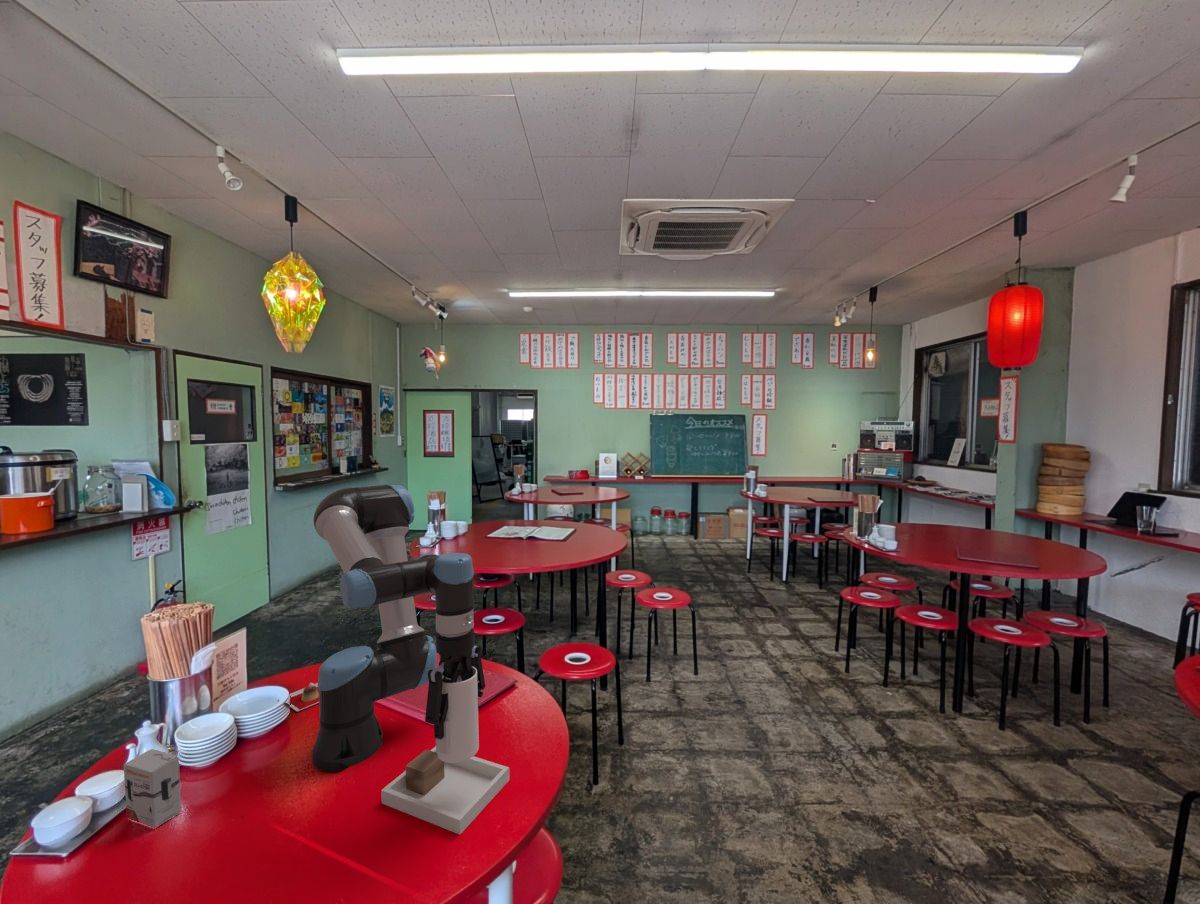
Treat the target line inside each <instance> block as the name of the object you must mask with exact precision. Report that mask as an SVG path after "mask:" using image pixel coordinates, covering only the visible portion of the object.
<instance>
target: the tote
mask: <svg viewBox="0 0 1200 904" xmlns="http://www.w3.org/2000/svg"><path fill="white" fill-rule="evenodd" d="M429 750H430V749H429ZM430 751H433V752H436V753H437V751H436V745H435V746H434V747H433V748H431V750H430ZM509 781H510V767H509V766H506V765H502V764H500V763H495V762H493V761H489V760H486V759H484V758H480V757H477V756H475V755H474V756H473V757H471V758H469V759H467V760H465V761H462V762H458V763H447V762H444V778H443V779H442V780H441V781H440V782H439V783H438V784H437V785H436V786H435V787H434V788H432V789H431V790H430V791H429V792H428V793H427V794H426V795H425V796H423V795H421V794H418V793H415V792H413V791H410V790H407V789H406V770H404V771H403V772H402V773H401V774H399V776H396V778H394V780H392V781H391V782H390V783H388V784H387V785H386V786H384V788H382V789H381V804H383V805H384V806H387V807H389V808H392V809H395V810H398V811H400V812H402V813H405V814H407V815H410V816H412V817H414V818H417V819H420V820H422V821H425V822H428V823H429V824H432V825H435V826H437V827H440V828H443V829H445V830H447V831H450V832H452V833H455V834H456V835H457V834H458V835H461V834H462V833H464V831H465V830H466V829H467V828H468V827H469V825H470V824H472V822H473V821H474V820H475V819H476V818H477V816H478V815H479V814H481V813H482V811H483V810H484V809H485V808H486V806H488V805H489V803H490V802H491V801H492V800H493V799H494V798H495V796H496V795H498V793H499V792H500V791H502V789H503V788H504V787H505V786H506V785H507V784H508V782H509Z"/></svg>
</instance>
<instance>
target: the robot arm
mask: <svg viewBox="0 0 1200 904" xmlns="http://www.w3.org/2000/svg"><path fill="white" fill-rule="evenodd" d="M414 519H415V506H414V502H413V499H412V496H411V494H410V491H408V490H407V488H406V487H405V486H404V485H400V484H382V485H373V486H359V487H358V486H357V487H344V488H341V489H338V490H335V491H333V492H331V493H330V494H328V495H326V496H325V497H324V498H323V499H322V500H321V502H320V503H319V504H318V506H317V507H316V509H315V510H314V514H313V526H314V529H315V531H316V533H317V535H318V536H319V537H321V539H323V540H325V541H326V542H327V544H328V546H329V547H330V549H331V551H332V553H333V554H334V556H335V558H336V560H337V562H338V564H339V566H340V568H341V570H342V571H343V574H342V575H341V577H340V582H339V584H340V585H339V588H340V589H339V590H340V597H341V601H342V604H343V606H344V607H345V608H347V609H349V610H352V609H361V608H370V607H372V606H375V605H378V609H379V617H380V624H381V632H382V633H381V635H380V636H379V638H378V640H377V643H376V644H377V649H375V650H373V649H372V648H371V647H370V646H368V645H359V646H358V645H356V646H351V647H347V648H345V649H342V650H340V651H338V652H336V653H334V654H332V655H331V656H329V657H328V658H327V659H325V660H324V661H323V662H322V663H321V665H320V666H319V669H318V678H317V679H318V680H317V681H318V682H317V683H318V687H317V690H318V694H319V697H318V702H319V703H318V704H319V707H318V708H319V728H318V731H317V735H316V738H315V739H316V740H315V743H314V745H313V747H312V752H311V761H312V766H313V767H314V768H315V769H317V770H319V771H322V772H328V773H329V772H341V771H346V769H348V768H349V767H351V766H355V765H357V764H360V763H362V762H364V761H365V760H368V759H369V758H370V757H372V756H374V754H376V753H377V752H378V751H379V750H380V749H381V748H382V745H383V743H384V737H383V736H384V735H383V730H382V727H381V725H380V723H379V720H378V718H377V716H376V714H375V702H378V701H380V700H383V699H386V698H390V697H392V696H395V695H399V694H401V693H404V692H407V691H411V690H416V689H417V688H418V687H421V686H424V685H427V684H428V689H427V699H426V707H425V708H426V709H425V717H424V718H425V719H424V721H425V723H427V724H430V725H433V736H434V739H435V746H436V751H437V752H440V753H443V754H446V755H447V754H448V753H449V752H450V750H449V720H447V719H446V715H447V711H448V693H446V694H442V687H443V682H444V683H456V682H457V678H458V677H459V676H461V678H462V681H465V680H468V679H470V678H471V677H473V672H472V671H473V668H472V666H473V667H475V668H476V670H477V686H478V698H482V697H483V696H484V692H483V691H482V690H484V689H485V688H486V681H485V675H484V669H483V663H482V646H478V645H476V644H475V643H476V642H475V630H474V627H475V623H474V622H475V621H474V618H475V617H474V616H475V615H474V575H475V571H474V567H473V558H472V556H471V555H470V554H468V553H465V552H463V553H461V552H449V553H444V554H441V555H439V554H438V555H437V554H434V553H424V554H421V555H419V556H418V557H416V558H415V559H413V560H408V554H407V553H408V552H407V545H406V539H405V536H406V534H407V533H408V532H409V530H410V527H409V526H410V525H412V524H413V522H414ZM425 594H432V595H434V598H435V600H434V601H435V632H437V633H436V635H435V639H436V641H435V640H434V638H433V637H431V636H430V635H426V633H425V632H426V631H425V629H424V628H422V627H421V626H419V624H418V620H417V614H416V612H417V611H416V608H415V606H416V605H415V600H414V597H416V596H422V595H425ZM435 643H436V644H435ZM437 653H438V655H439V657H440V658H439V661H438V666H437V660H438V658H437V656H438V655H437ZM446 677H447V678H450V679H451V680H448V679H446ZM478 709H479V700H478Z"/></svg>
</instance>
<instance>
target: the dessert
mask: <svg viewBox="0 0 1200 904" xmlns="http://www.w3.org/2000/svg"><path fill="white" fill-rule="evenodd" d="M289 694H290V696H291V698H293V697H296V696H298V695H301V694H302V695H301V698H300V700H301V702H304V703H305V702H311V701H314V700H316V699H319V690H318V682H316V683H313V682H309V684H308V686H306V687H304V688H301V689H299V690H296V691H293V692H291V693H289ZM317 704H319V701H318V702H315V703H313V704H310V705H308V706H305V707H303V708H300V709H299V708H298V707H297V706H296V705H294V704H292V703H291V705H290V706H289V707H290V708H291V709H293V711H295V712H297V713H298V712H301V711H303V710H306V709H308V708H311V707H313V706H315V705H317Z"/></svg>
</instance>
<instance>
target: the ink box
mask: <svg viewBox="0 0 1200 904" xmlns="http://www.w3.org/2000/svg"><path fill="white" fill-rule="evenodd" d="M179 761H180V760H179V757H178V755H177V754H173V753H170V752H169V753H168V752H166V751H161V750H159V749H158V750H157V749H154V748H152V749H149V750H147V751H145V752H143V753H141V754H140V755H138V756H136V757H134V758H132V759H131V760H129V761H127V762H125V763H124V764H123V778H124V793H125V809H126V811H125V812H126V819H127V818H129V819H131V820H134V821H137V822H140V823H143V824H146V825H148V826H151V827H154V828H155V827H157V826H159V825H160V824H162V823H164V822H165V821H167V820H169V819H170V818H172V817H173V816H175V815H177V814H178V815H180V814H181V813H182V799H181V798H182V796H181V794H182V793H181V783H180V782H181V777H180V763H179ZM180 812H181V813H180ZM179 813H180V814H179ZM178 815H177V816H178ZM175 817H176V816H175ZM172 819H173V818H172ZM169 821H170V820H169Z"/></svg>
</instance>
